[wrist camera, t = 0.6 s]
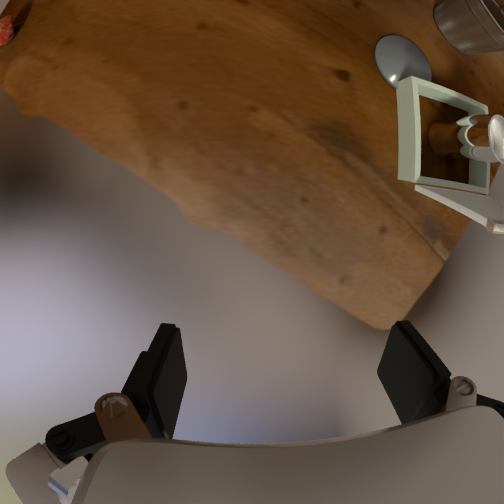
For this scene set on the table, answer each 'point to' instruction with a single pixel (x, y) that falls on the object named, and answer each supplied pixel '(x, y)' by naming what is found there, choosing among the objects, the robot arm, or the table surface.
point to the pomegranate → (7, 29)
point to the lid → (470, 206)
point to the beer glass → (470, 138)
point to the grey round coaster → (400, 60)
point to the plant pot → (472, 24)
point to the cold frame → (412, 133)
